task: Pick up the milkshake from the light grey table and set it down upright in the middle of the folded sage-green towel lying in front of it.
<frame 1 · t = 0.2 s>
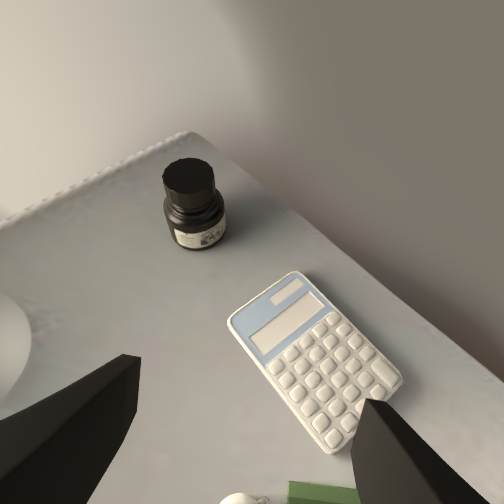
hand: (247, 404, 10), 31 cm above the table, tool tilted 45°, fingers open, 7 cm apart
calculator: (309, 351, 42), on the table
ink bottle: (198, 230, 53), on the table
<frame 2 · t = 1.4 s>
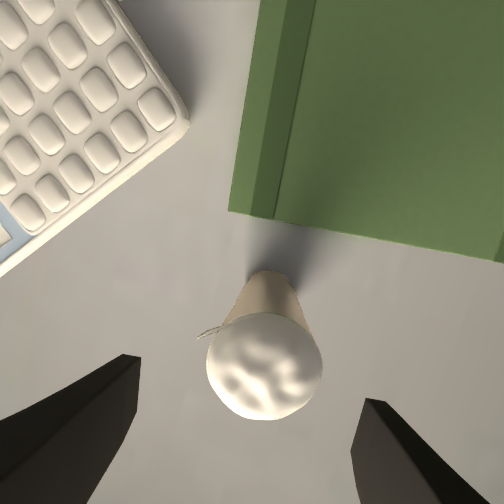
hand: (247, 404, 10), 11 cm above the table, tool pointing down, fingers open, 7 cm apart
calculator: (6, 130, 19), on the table
milkshake: (264, 287, 21), on the table
towel: (417, 93, 17), on the table
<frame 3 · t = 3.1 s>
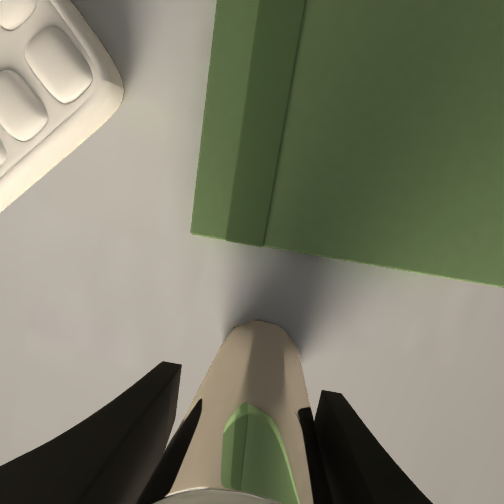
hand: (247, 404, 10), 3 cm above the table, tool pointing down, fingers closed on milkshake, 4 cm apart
milkshake: (253, 345, 14), on the table, touching gripper
towel: (501, 33, 10), on the table
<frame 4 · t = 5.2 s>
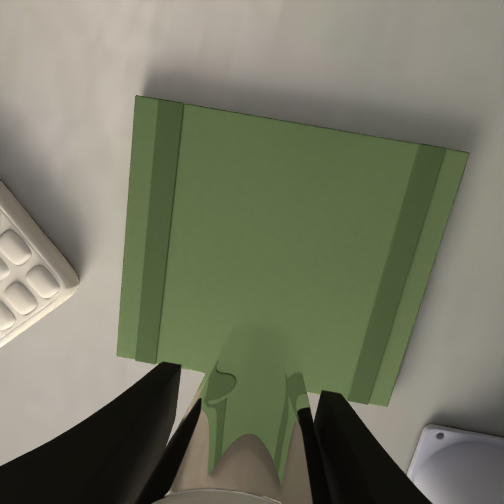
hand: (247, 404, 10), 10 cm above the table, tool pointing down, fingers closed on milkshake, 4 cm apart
milkshake: (253, 345, 14), point 7 cm above the table, touching gripper
towel: (273, 262, 20), on the table
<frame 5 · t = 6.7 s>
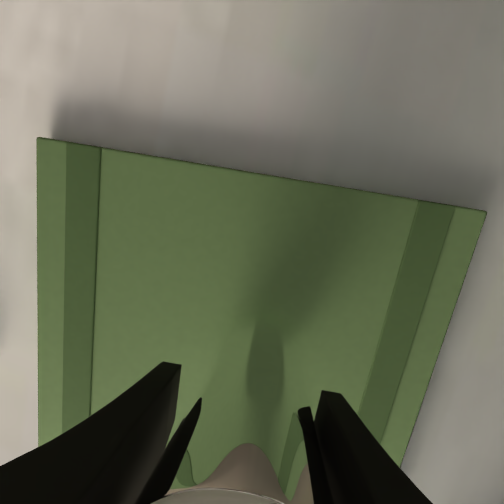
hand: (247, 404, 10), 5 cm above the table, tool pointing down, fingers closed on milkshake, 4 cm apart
milkshake: (253, 344, 14), point 2 cm above the table, touching gripper
towel: (231, 343, 15), on the table
when the fingers open (4 cm above the table, at t = 7.4 s): milkshake stays where it is, resting on towel.
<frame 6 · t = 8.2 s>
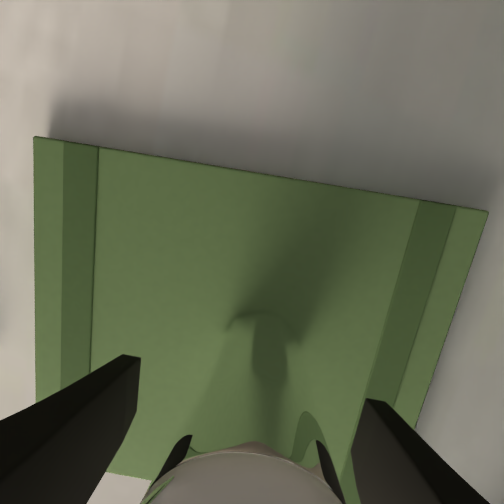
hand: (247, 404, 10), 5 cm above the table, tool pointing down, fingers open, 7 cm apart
milkshake: (253, 335, 14), point 1 cm above the table, touching towel
towel: (231, 344, 15), on the table
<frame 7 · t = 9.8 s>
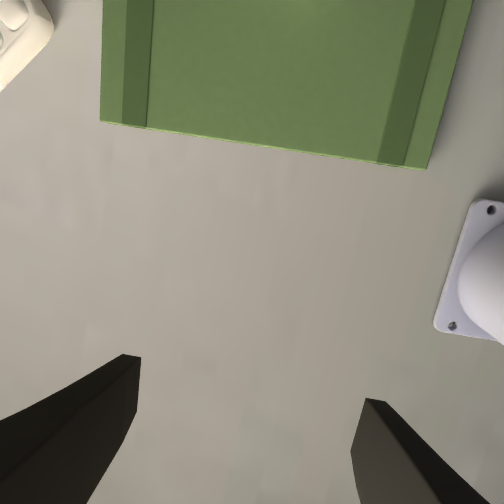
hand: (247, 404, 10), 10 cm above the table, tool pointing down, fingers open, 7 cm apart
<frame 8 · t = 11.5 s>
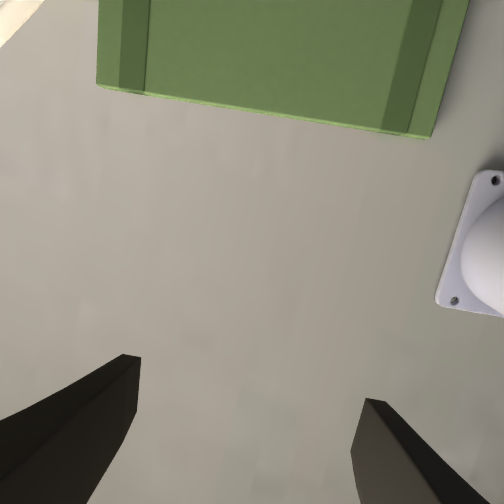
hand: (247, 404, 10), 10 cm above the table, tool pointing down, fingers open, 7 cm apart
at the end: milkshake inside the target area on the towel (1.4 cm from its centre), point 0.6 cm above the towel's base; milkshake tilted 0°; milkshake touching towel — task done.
